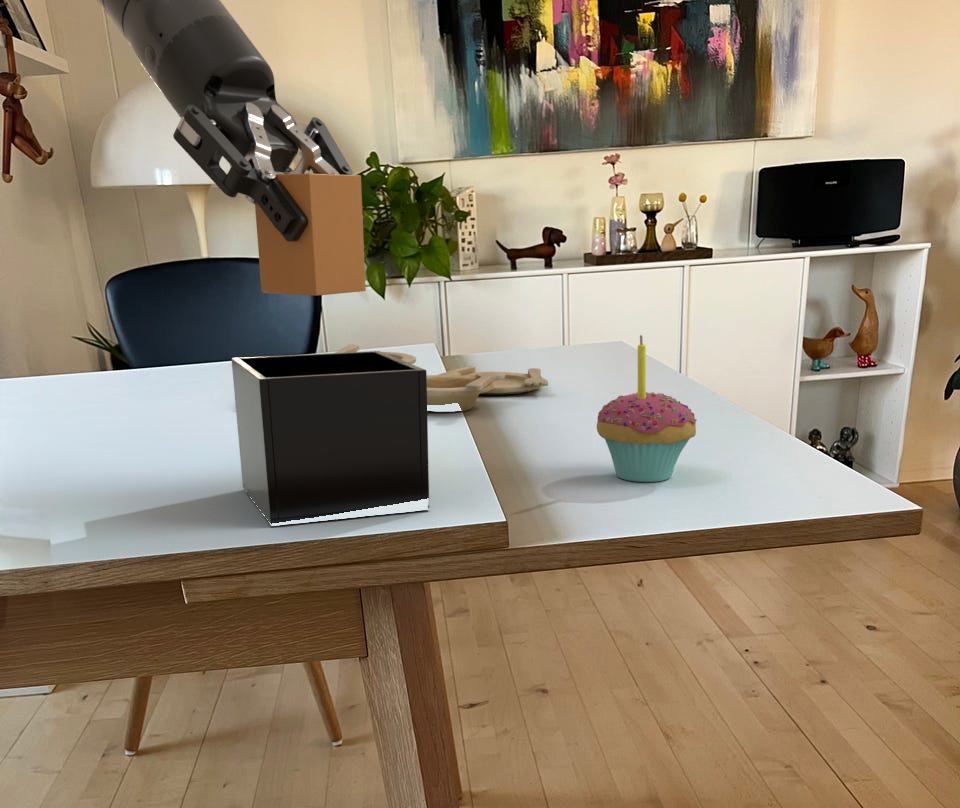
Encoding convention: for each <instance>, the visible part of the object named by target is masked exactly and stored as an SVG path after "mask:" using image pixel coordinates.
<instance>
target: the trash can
mask: <svg viewBox="0 0 960 808" xmlns="http://www.w3.org/2000/svg"><path fill="white" fill-rule="evenodd" d="M383 352H384V351H381V350H371V351H369V350H368V351H357V352H346V353H335V352H328V353H327V352H326V353H308V354H306V353H305V354H285V355H267V356H247V357H232V358H231V359H230V360H231V370H232V380H233V392H234V402H235V403H234V404H235V414H236V415H235V416H236V424H237V436H238V448H239V458H240V459H239V460H240V470H241V471H240V472H241V480H242V481H241V482H242V489H243V488H244V489H245V490H246V491H247V493H248V494H249V496H250V497H251V498H252V500H253V501H254V502H255V504H256V505H257V506H258V508H259V509H260V510H261V512H262V513H263V514H264V515H265V517H266V518H267V519H268V521H269V522H270V523H271V524H272V523H279V522H286V521H291V520H300V519H305V518H314V517H319V516H326V515H333V514H339V513H344V512H350V511H356V510H362V509H368V508H374V507H379V506H387V505H393V504H399V503H404V502H410V501H418V500H421V499H427V498H429V499H430V480H429V479H430V478H429V475H430V474H429V471H430V470H429V432H428V431H429V428H428V427H429V425H428V412H427V375H428V374H427V370H426V369H424V368H422V367H420V366H417V365H415V364H410V363H407V362H405V361H403V360H400V359H398V358H395V357H393V356H390V355H388V354H385V353H383ZM244 489H243V490H244ZM247 493H246V494H247ZM249 496H248V497H249ZM250 497H249V498H250ZM252 500H251V501H252ZM255 504H254V505H255ZM258 508H257V509H258ZM261 512H260V513H261Z"/></svg>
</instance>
